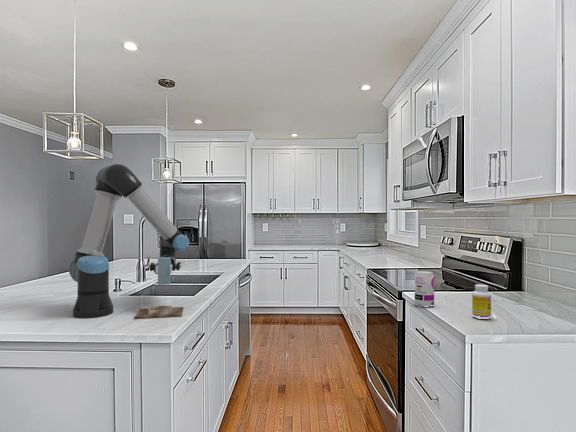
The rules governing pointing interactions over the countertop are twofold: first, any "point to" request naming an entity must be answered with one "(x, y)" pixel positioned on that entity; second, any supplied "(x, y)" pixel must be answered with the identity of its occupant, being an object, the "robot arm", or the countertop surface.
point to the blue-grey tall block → (164, 270)
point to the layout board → (159, 312)
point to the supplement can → (424, 288)
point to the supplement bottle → (481, 301)
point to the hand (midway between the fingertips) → (163, 269)
